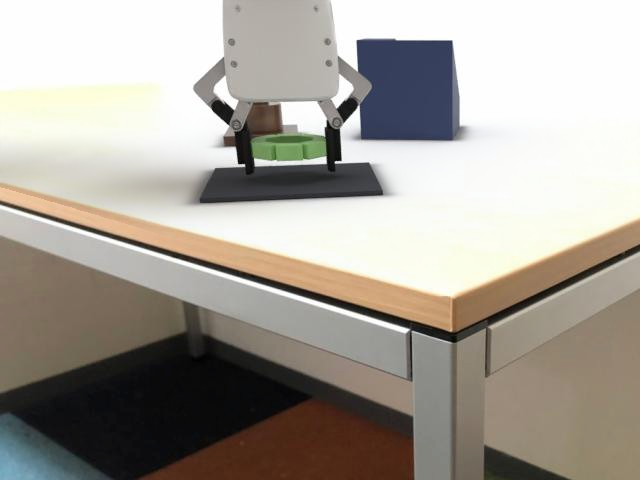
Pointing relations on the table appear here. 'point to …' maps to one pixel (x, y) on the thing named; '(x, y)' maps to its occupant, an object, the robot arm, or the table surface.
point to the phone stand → (409, 89)
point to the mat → (291, 182)
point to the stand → (263, 122)
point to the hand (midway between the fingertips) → (291, 169)
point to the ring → (288, 147)
